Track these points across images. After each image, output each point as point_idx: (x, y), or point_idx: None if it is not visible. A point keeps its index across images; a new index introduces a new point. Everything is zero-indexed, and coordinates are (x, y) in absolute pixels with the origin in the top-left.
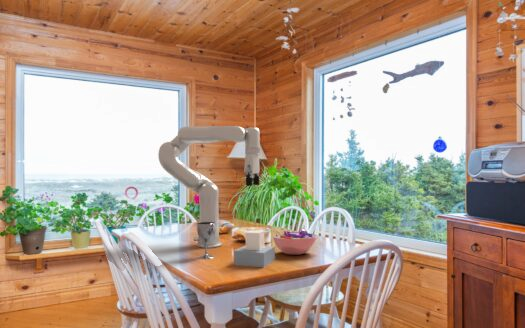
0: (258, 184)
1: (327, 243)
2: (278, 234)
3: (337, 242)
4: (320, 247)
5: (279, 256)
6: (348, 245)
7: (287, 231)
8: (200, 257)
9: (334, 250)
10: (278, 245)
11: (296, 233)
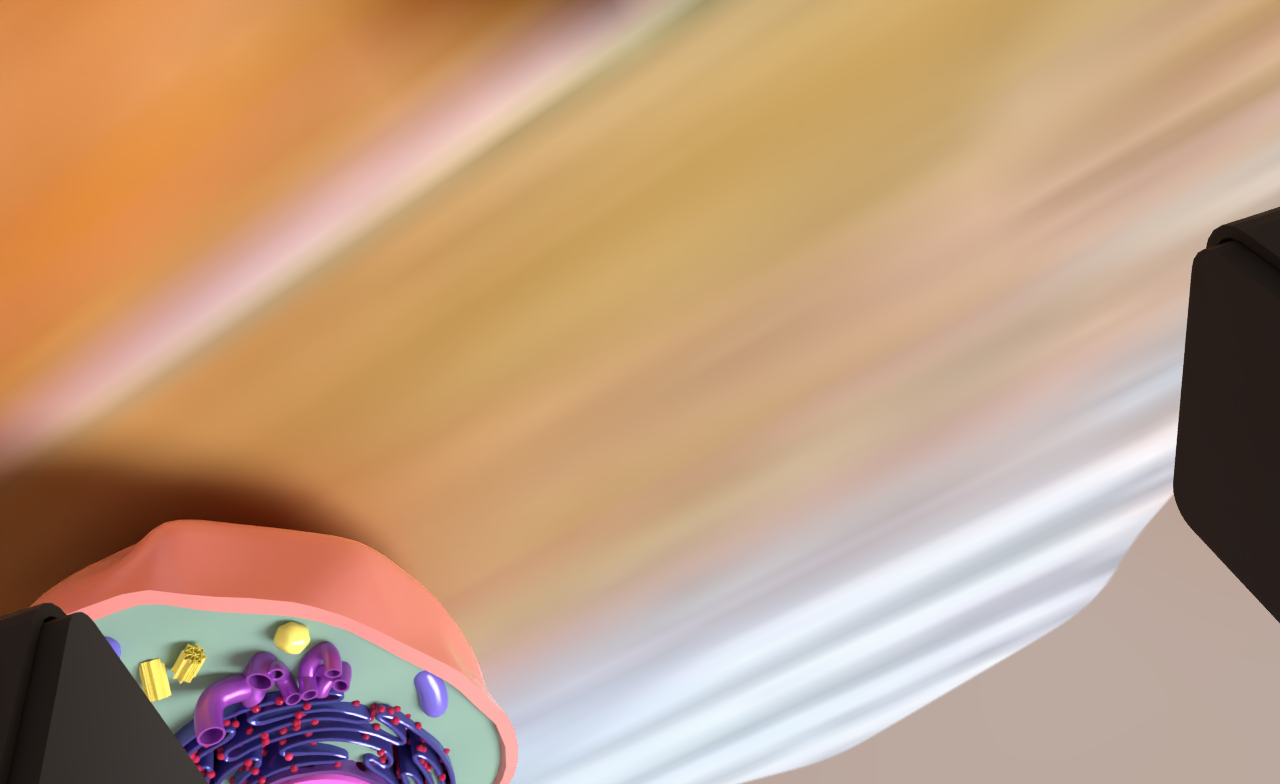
0: (1183, 503)
1: (917, 562)
2: (196, 607)
3: (1002, 597)
4: (691, 616)
5: (14, 588)
6: (895, 719)
7: (338, 667)
8: None
9: (626, 751)
10: None
11: (374, 737)
